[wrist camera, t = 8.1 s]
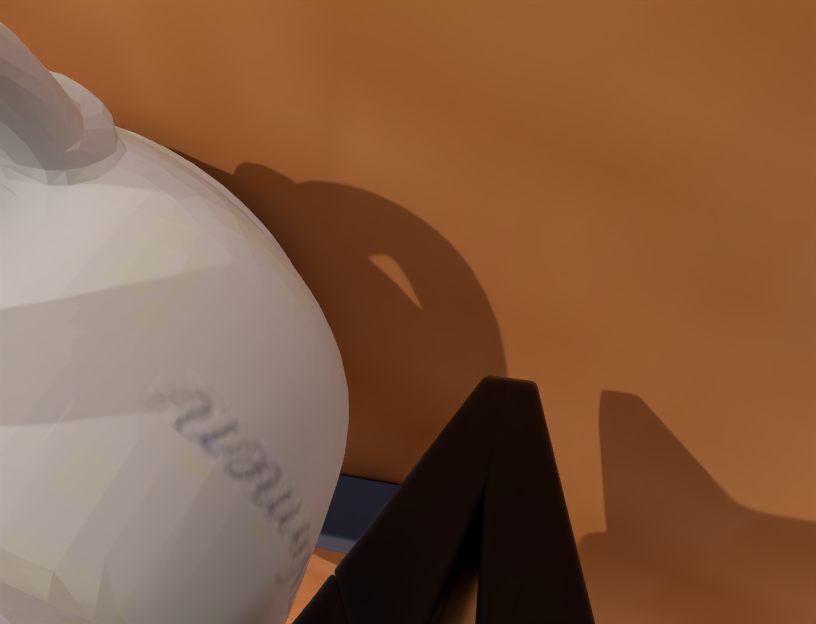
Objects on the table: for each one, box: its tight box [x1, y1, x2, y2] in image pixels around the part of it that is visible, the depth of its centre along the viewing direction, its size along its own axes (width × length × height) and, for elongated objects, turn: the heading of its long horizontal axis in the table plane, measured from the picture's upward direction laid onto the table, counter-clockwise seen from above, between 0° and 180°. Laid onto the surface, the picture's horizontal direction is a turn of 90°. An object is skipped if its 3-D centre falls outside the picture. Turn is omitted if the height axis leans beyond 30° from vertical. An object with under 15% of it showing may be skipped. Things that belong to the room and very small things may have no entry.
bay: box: [315, 475, 399, 554], centre depth 13 cm, size 14×20×2 cm
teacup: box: [0, 22, 349, 624], centre depth 10 cm, size 14×11×8 cm
